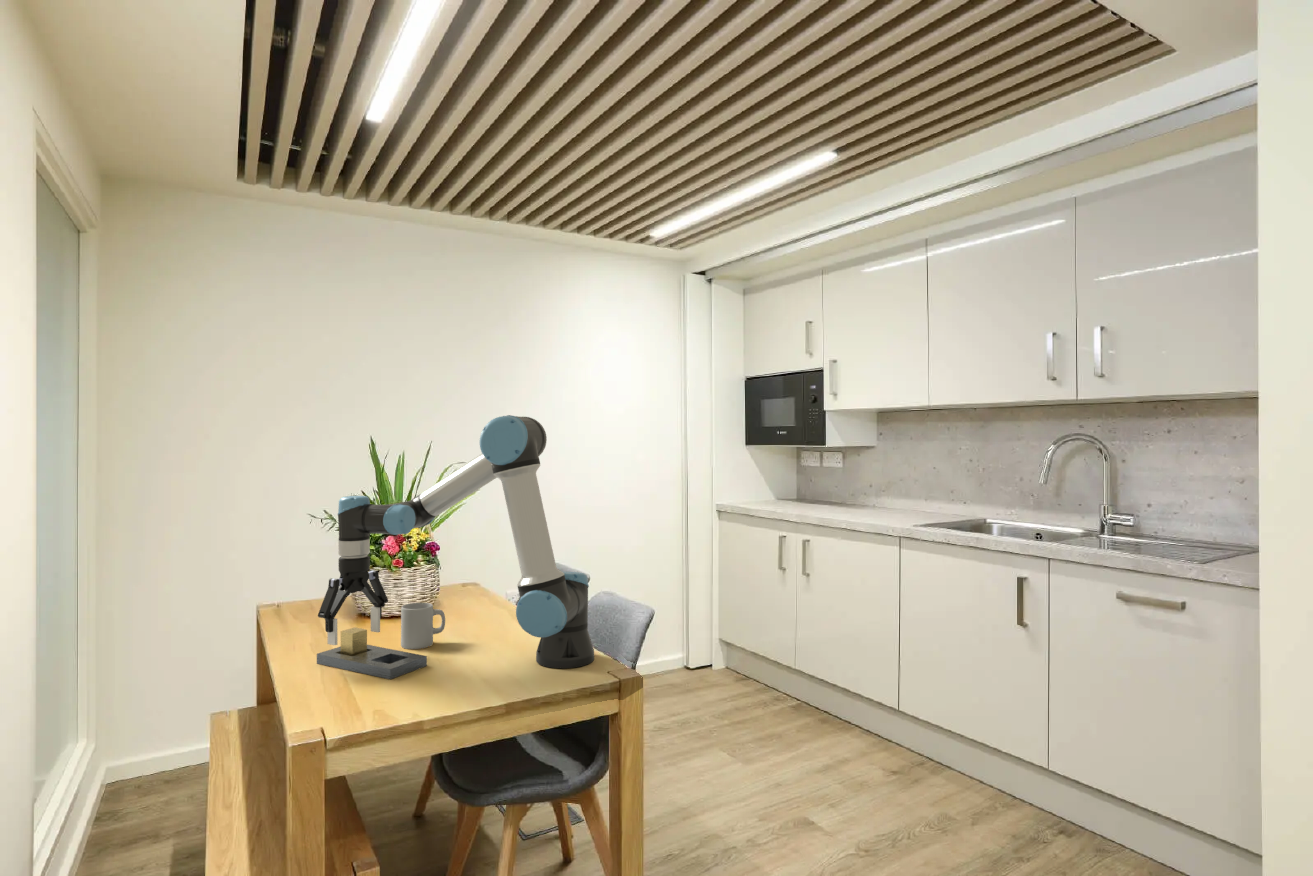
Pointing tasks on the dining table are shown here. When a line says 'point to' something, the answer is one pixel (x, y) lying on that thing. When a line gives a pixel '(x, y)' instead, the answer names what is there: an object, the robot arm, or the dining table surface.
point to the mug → (419, 625)
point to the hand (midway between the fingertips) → (354, 638)
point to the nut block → (353, 641)
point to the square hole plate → (374, 661)
